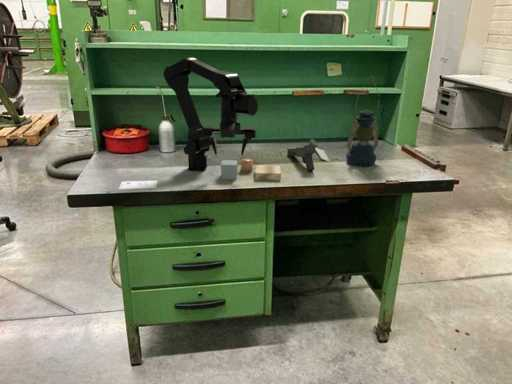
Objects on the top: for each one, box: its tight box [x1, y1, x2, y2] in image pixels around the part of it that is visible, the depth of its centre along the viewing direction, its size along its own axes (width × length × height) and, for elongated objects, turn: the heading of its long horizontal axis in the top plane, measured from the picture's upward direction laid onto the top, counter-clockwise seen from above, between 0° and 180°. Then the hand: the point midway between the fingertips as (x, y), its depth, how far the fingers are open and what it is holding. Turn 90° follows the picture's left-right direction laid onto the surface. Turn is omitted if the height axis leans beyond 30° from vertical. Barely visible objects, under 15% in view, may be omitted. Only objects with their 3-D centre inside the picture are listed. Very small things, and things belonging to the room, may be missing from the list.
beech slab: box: [254, 164, 282, 181], centre depth 154 cm, size 9×9×2 cm
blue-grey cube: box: [220, 159, 239, 181], centre depth 152 cm, size 6×6×6 cm
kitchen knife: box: [308, 138, 330, 162], centre depth 186 cm, size 29×3×5 cm
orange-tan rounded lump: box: [240, 158, 254, 173], centre depth 160 cm, size 4×4×4 cm
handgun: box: [286, 144, 317, 172], centre depth 170 cm, size 4×24×10 cm, turn 16°
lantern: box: [345, 74, 380, 168], centre depth 166 cm, size 14×12×35 cm
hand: (229, 155), depth 150 cm, fingers open, 9 cm apart
